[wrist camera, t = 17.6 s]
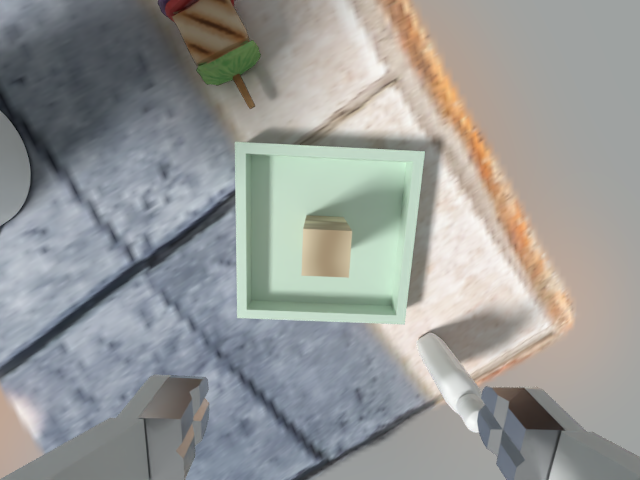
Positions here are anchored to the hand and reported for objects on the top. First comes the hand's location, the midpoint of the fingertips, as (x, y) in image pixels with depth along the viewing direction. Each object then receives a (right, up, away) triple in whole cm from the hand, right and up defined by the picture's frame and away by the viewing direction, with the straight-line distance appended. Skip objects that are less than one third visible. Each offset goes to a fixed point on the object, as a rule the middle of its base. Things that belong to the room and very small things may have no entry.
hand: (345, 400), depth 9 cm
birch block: (0, +5, +24) cm, 24 cm away
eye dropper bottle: (+13, -9, +28) cm, 32 cm away
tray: (0, +5, +24) cm, 25 cm away
